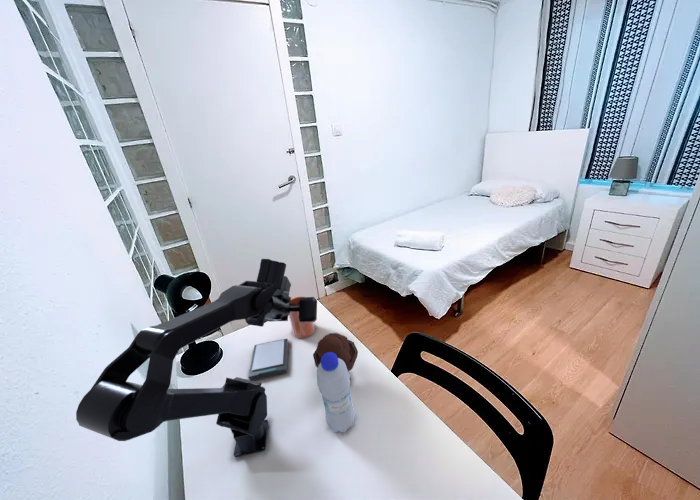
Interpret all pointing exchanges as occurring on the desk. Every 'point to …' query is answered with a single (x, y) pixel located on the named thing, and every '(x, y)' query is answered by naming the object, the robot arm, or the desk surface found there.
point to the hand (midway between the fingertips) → (292, 313)
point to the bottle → (335, 392)
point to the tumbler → (300, 323)
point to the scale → (269, 359)
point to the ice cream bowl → (336, 349)
